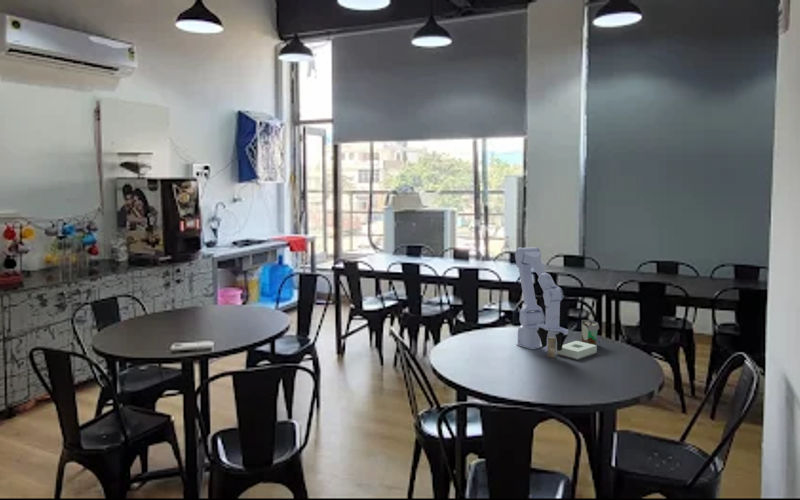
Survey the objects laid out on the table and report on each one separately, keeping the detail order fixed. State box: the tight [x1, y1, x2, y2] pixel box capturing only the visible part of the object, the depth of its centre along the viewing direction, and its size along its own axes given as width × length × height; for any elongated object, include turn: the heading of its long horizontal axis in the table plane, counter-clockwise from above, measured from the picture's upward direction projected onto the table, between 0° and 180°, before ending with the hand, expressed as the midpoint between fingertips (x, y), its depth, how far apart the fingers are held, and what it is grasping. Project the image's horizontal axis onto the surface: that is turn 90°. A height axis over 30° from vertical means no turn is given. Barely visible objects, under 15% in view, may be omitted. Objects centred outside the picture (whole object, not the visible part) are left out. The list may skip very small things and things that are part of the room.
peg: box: [547, 336, 557, 359], centre depth 264 cm, size 3×3×8 cm
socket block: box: [556, 340, 598, 361], centre depth 268 cm, size 10×14×4 cm
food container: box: [580, 319, 600, 345], centre depth 282 cm, size 12×6×10 cm, turn 179°
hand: (551, 348), depth 264 cm, fingers open, 7 cm apart
